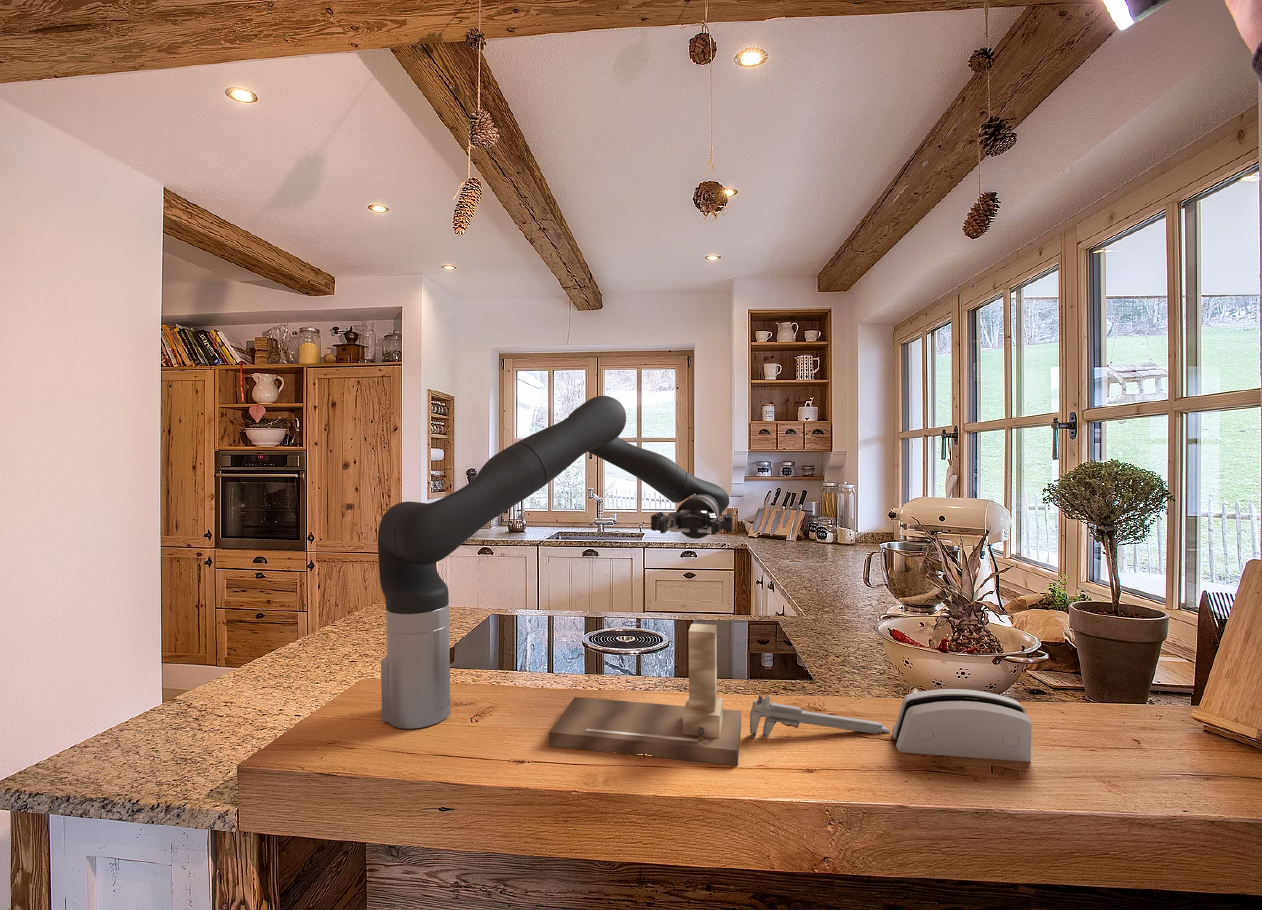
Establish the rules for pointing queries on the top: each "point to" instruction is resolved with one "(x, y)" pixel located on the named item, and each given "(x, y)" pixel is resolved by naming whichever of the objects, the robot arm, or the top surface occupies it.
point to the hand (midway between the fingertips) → (687, 527)
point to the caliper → (804, 718)
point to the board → (643, 731)
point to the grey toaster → (963, 725)
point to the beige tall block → (703, 684)
